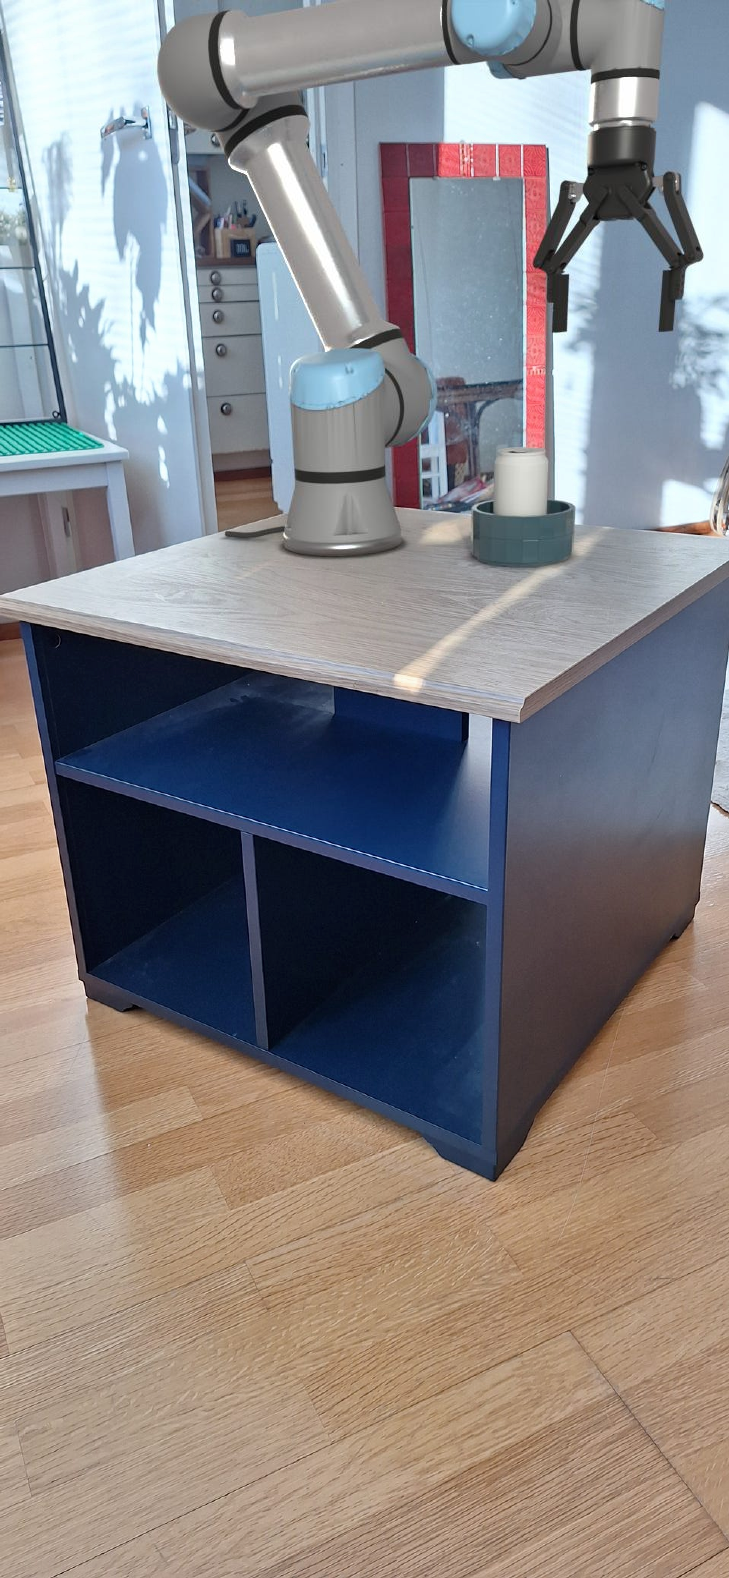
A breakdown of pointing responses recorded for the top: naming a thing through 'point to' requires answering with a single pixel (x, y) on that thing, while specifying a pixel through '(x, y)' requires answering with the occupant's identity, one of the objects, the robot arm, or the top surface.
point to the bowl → (523, 535)
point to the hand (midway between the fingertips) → (611, 332)
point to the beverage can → (520, 481)
